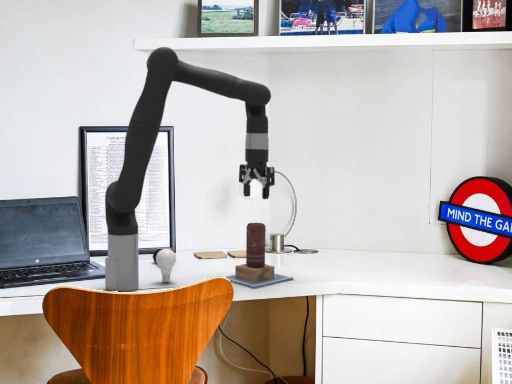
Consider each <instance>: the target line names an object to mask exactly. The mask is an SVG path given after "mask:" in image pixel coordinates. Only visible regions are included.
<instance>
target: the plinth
mask: <svg viewBox="0 0 512 384" xmlns="http://www.w3.org/2000/svg"><path fill="white" fill-rule="evenodd" d="M274 273H275V265H269V264H266V263H265V265H264V267H261V268H251V267H248V266H247V265H246V263H243V264H238V265H235V272H234V275H235V278H238V279H242V280H245V281H249V282H253V283H257V282H261V281H265V280H270V279H274Z"/></svg>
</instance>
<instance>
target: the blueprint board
mask: <svg viewBox="0 0 512 384" xmlns="http://www.w3.org/2000/svg"><path fill="white" fill-rule="evenodd" d="M224 277H226V278H227V279H229V280H230V281H231V282H230V283H232V282H234V283H233V284H235V283H236V284H235V285H240V286H243V287H246V288H250V289H253V290H255V289H259V288H264V287H268V286H271V285H276V284H280V283H285V282H289V281H293V280H294V277H292V276H287V275H283V274H280V273H276V272H274V279H270V280H265V281H261V282H257V283H253V282H249V281H245V280H242V279H238V278H235V274H230V275H226V276H224Z"/></svg>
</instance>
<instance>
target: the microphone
mask: <svg viewBox="0 0 512 384" xmlns="http://www.w3.org/2000/svg"><path fill="white" fill-rule="evenodd" d="M162 249H163V248H158V249H156V250H155V251H153V254H152V259H153V261H154V262H155V264H157V262H156V256H157V254H158V252H159V251H160V250H162Z"/></svg>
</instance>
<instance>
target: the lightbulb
mask: <svg viewBox="0 0 512 384" xmlns="http://www.w3.org/2000/svg"><path fill="white" fill-rule="evenodd" d="M161 249H162V250H160V251H159V252H158V254H157V256H156V262H157V263H156V262H155V263H156V264H157V266H158V267H159V269H160V272H161V281H162V283H164V284H168V283H169V282H171V273H172V270H173V267H174V266H175V264H176V262H177V256H176V253H175V251H173V250H172V249H169V248H161Z"/></svg>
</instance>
